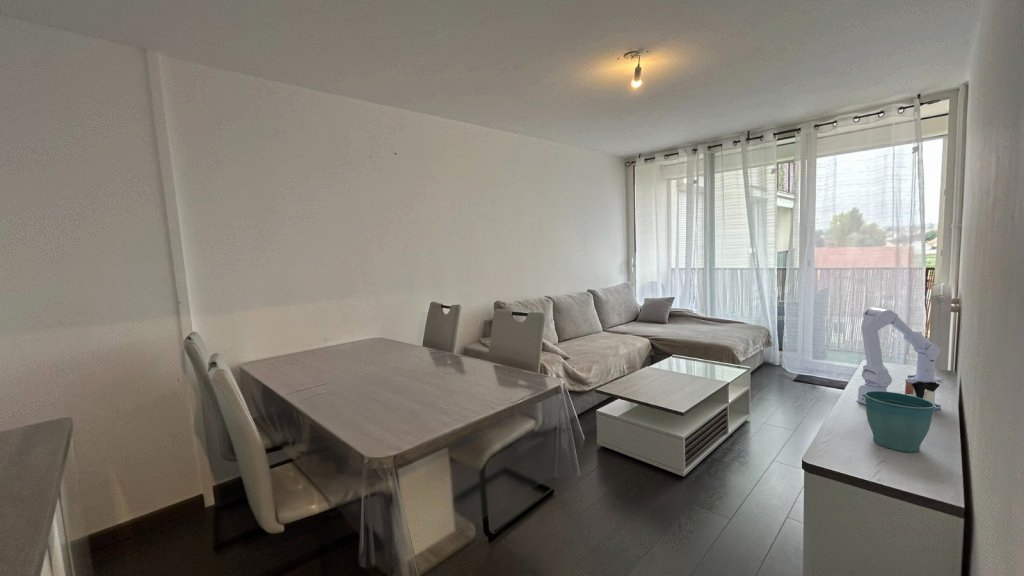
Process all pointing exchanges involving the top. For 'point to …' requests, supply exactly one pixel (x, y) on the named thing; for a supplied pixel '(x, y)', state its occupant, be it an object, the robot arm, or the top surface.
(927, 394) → the cream rectangular block
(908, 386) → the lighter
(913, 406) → the flower pot
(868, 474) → the top surface
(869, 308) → the robot arm
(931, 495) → the top surface
